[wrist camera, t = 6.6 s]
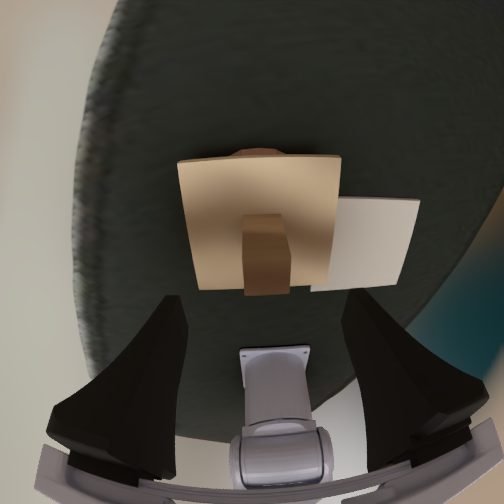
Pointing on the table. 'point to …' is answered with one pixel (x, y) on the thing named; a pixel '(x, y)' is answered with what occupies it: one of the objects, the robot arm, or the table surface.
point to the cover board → (259, 195)
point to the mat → (369, 241)
